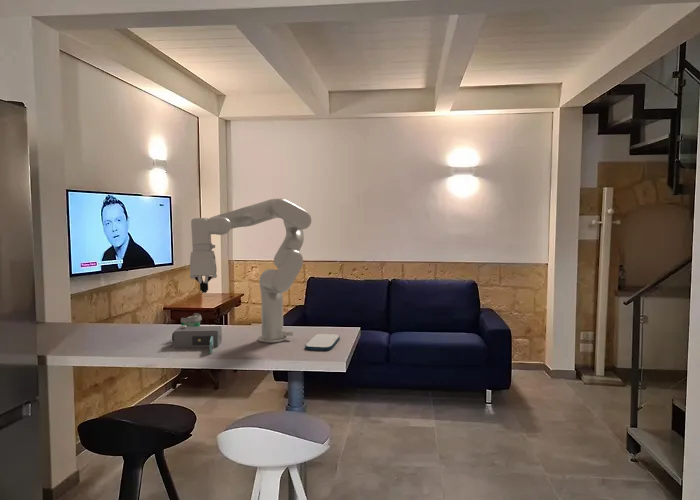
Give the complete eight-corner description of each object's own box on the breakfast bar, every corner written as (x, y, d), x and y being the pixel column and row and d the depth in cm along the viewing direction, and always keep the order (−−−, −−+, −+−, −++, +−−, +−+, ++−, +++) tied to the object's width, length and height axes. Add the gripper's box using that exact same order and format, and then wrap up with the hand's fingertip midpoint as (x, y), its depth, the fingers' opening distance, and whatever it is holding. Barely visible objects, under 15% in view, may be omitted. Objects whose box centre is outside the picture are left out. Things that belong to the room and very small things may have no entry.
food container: (193, 340, 223) (193, 318, 222) (181, 340, 224) (180, 318, 223) (206, 334, 235) (206, 313, 234) (194, 334, 236) (194, 312, 235)
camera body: (221, 341, 221) (221, 323, 220) (217, 347, 211) (217, 328, 211) (176, 342, 219) (175, 324, 219) (170, 348, 210) (169, 329, 209)
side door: (211, 347, 211) (211, 335, 211) (215, 347, 211) (214, 335, 211) (209, 353, 201) (209, 341, 200) (213, 353, 201) (213, 341, 201)
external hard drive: (316, 337, 231) (316, 333, 230) (341, 338, 229) (341, 334, 229) (303, 351, 207) (303, 346, 207) (330, 352, 205) (330, 347, 205)
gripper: (222, 246, 209) (224, 290, 211) (185, 248, 208) (187, 291, 209) (219, 248, 202) (221, 293, 203) (181, 249, 200) (183, 294, 202)
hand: (204, 292), depth 206 cm, fingers closed
